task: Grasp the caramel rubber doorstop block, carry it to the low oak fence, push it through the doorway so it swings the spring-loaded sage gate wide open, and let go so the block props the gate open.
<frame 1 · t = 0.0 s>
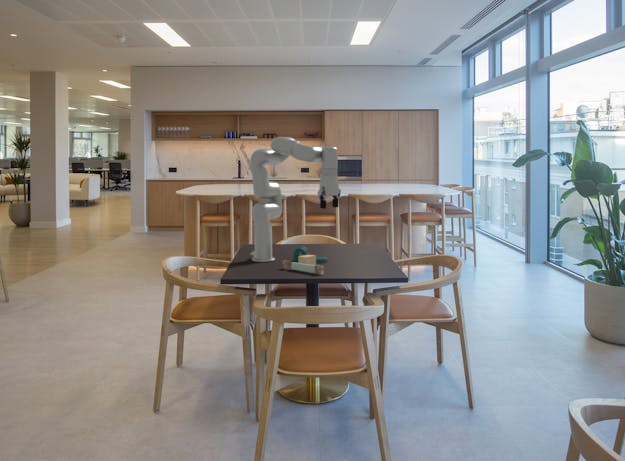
hand: (329, 207, 284), 31 cm above the table, fingers open, 9 cm apart
sage gate: (304, 267, 286), point 2 cm above the table, hinge at 0.0°
oak fence: (301, 271, 286), on the table
bracket: (311, 262, 313), on the table
doorstop block: (307, 267, 297), on the table
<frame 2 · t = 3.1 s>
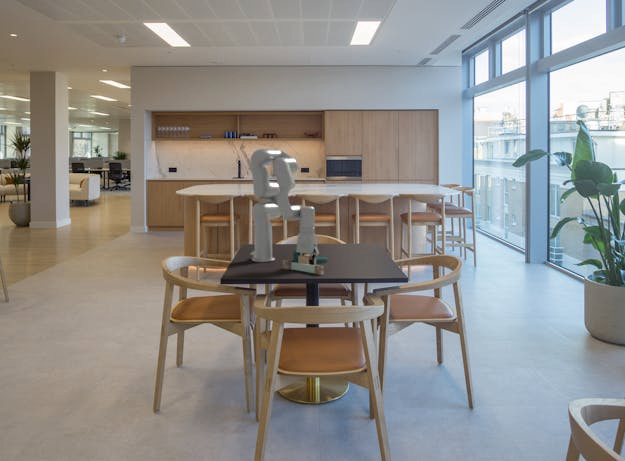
hand: (307, 265, 297), 1 cm above the table, fingers closed on doorstop block, 5 cm apart
doorstop block: (307, 267, 297), on the table, touching gripper
everything else where it was.
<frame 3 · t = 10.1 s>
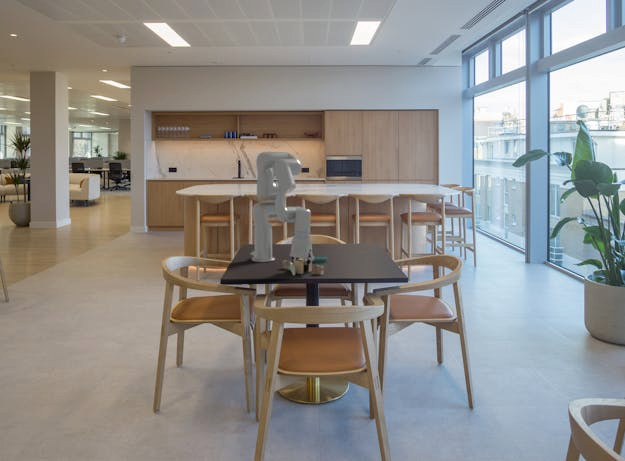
hand: (301, 270, 283), 1 cm above the table, fingers closed on doorstop block, 5 cm apart
sage gate: (293, 268, 282), point 2 cm above the table, hinge at -42.9°, touching gripper
doorstop block: (302, 271, 284), on the table, touching gripper
everything else where it was.
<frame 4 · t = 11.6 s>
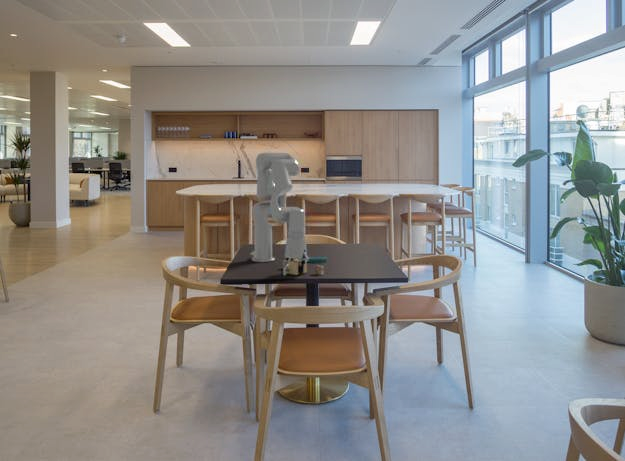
hand: (296, 272, 279), 1 cm above the table, fingers closed on doorstop block, 5 cm apart
sage gate: (288, 268, 282), point 2 cm above the table, hinge at -59.5°, touching gripper
doorstop block: (297, 272, 280), point 1 cm above the table, touching gripper
everything else where it was.
when the fingers open (1 cm above the table, at t = 12.6 s): doorstop block stays where it is, on the table.
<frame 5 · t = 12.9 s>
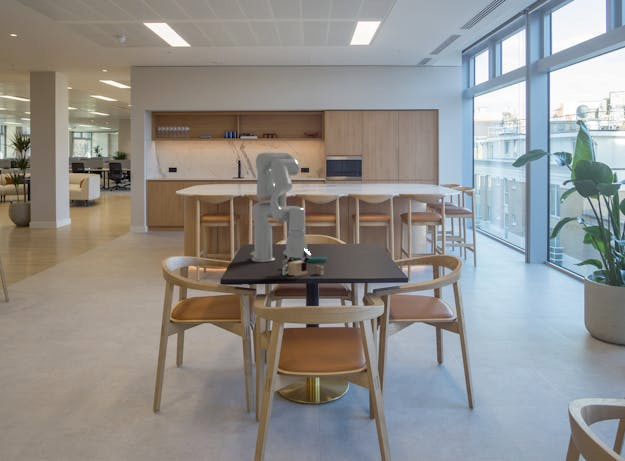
hand: (297, 269, 277), 2 cm above the table, fingers open, 8 cm apart
sage gate: (288, 268, 282), point 2 cm above the table, hinge at -61.1°, touching gripper
doorstop block: (297, 274, 280), on the table
everything else where it was.
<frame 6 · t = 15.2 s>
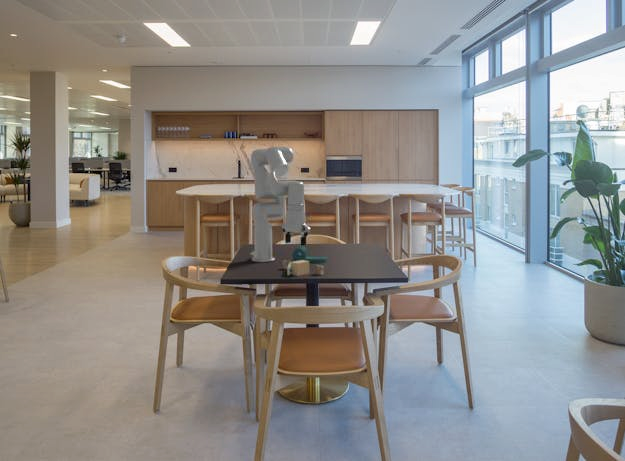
hand: (295, 243, 276), 15 cm above the table, fingers open, 9 cm apart
sage gate: (290, 268, 282), point 2 cm above the table, hinge at -52.6°, touching doorstop block
doorstop block: (299, 274, 280), on the table, touching sage gate
everything else where it was.
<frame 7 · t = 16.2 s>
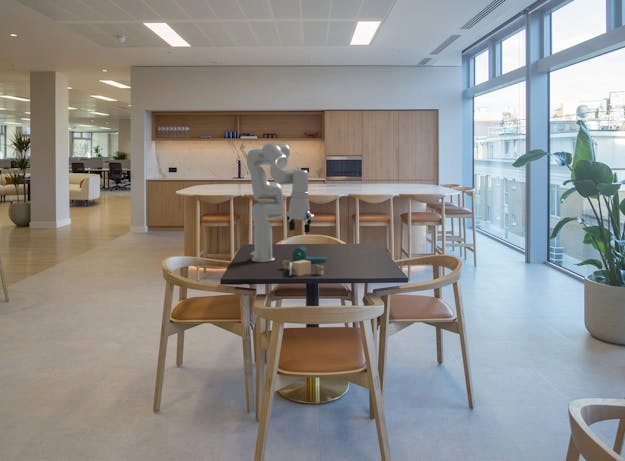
hand: (299, 231, 281), 20 cm above the table, fingers open, 9 cm apart
sage gate: (291, 268, 282), point 2 cm above the table, hinge at -48.8°, touching doorstop block
everything else where it was.
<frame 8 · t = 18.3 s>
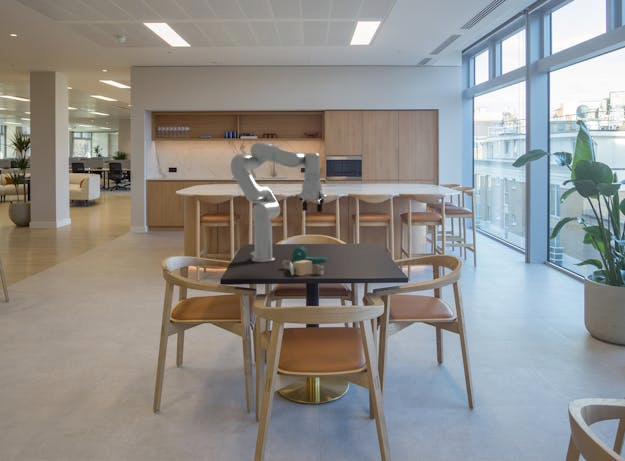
hand: (312, 211, 298), 28 cm above the table, fingers open, 9 cm apart
sage gate: (292, 268, 282), point 2 cm above the table, hinge at -45.6°, touching doorstop block
at the end: sage gate at -45° (first picture: +0°); doorstop block touching sage gate, table; the gripper is holding nothing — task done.
